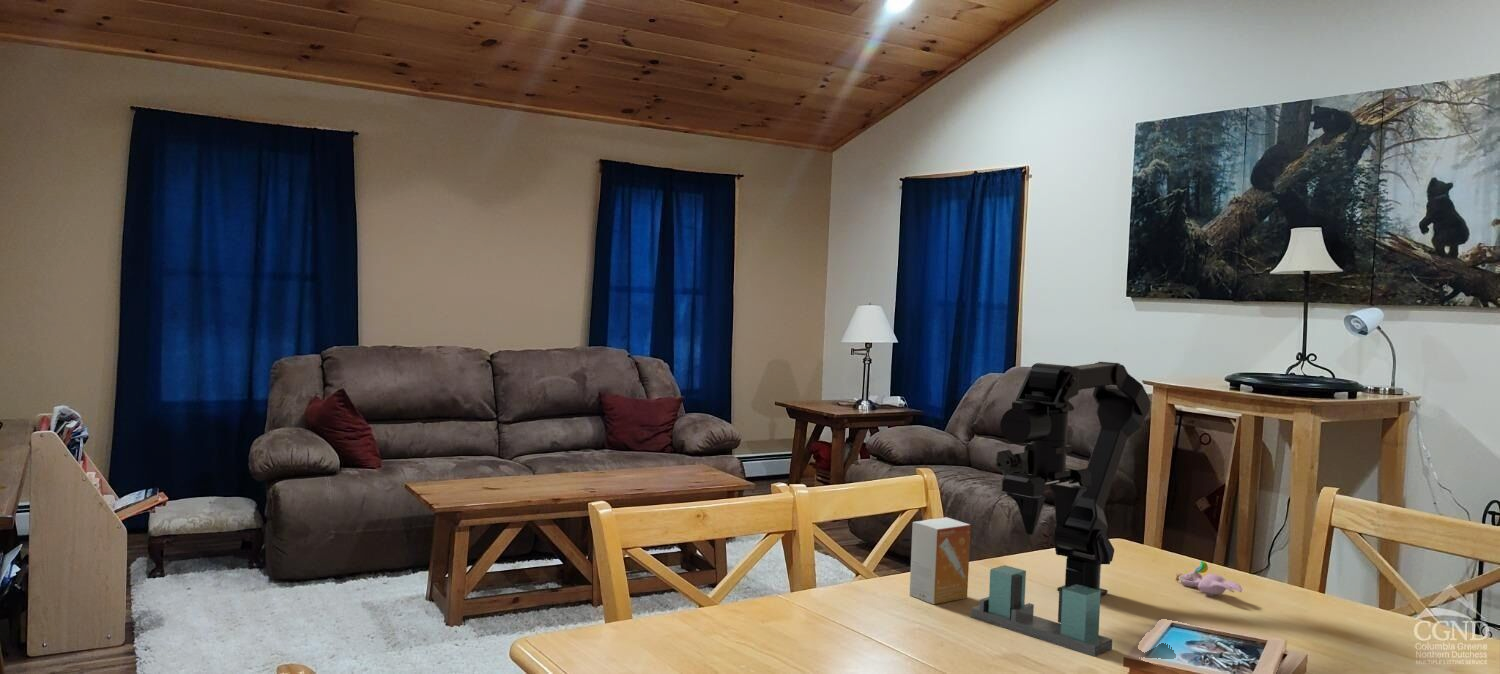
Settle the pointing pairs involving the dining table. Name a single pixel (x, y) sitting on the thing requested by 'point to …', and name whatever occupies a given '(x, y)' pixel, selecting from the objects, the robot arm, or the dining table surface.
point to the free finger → (1006, 590)
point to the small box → (940, 560)
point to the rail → (1073, 614)
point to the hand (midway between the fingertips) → (1045, 530)
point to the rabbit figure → (1207, 581)
